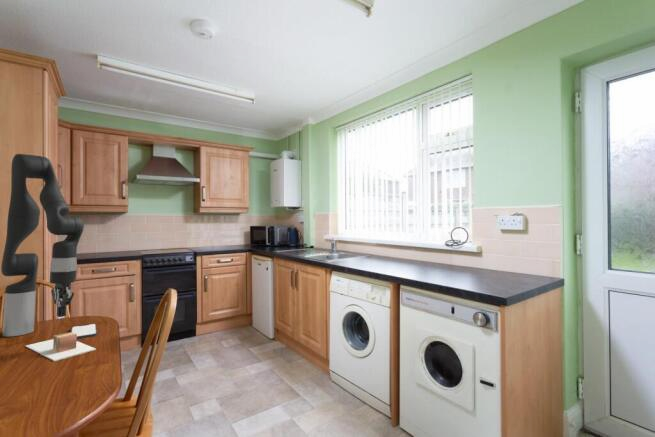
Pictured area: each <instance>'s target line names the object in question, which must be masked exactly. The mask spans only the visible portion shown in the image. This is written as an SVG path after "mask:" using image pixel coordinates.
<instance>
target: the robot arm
mask: <svg viewBox="0 0 655 437" xmlns="http://www.w3.org/2000/svg"><path fill="white" fill-rule="evenodd" d="M10 169H11V170H10V171H11V172H10V173H11V175H10V176H11V178H10V180H11V181H10V182H11V187H10V191H11V192H10V200H9V206H8V213H7V222H6V224H7V225H6V237H5V238H6V239H5V245H4V249H3V250H4V251H3V254H2V260H1V266H0V267H1V270H0V271H1V274H2V275H3V276H4V277H16V276H18V277H19V276H25V277H24V278H23V279H21V280H19V281H16V282H14V283H10V284H8V285H6V286H5V289H4V290H5V291H4V292H5V293H4V306H3V309H4V310H3V320H2V321H3V325H2V336H3V337H17V336H23V335H27V334H31V333H33V332H34V330H35V329H34V328H35V314H36V313H35V311H36V295H37V294H36V291H37V277H38V270H39V256H38V254H37V253H35V252H34V253H33V252H28V253H27V252H26V253H16V252H17V250H18V248H19V247H20V245H21V244H22V243H23V242H24V240H26V239H27V238H28V237H29V236H30V235H31V234H32V233H33V232H35V231H36V229H37V228H38V227H39V223H40V218H41V217H40V215H41V209H40V207H39V205H38V203H37V202H36V200H35V199H34V197H32V196H31V194H30V192H29V190H28V187H27V179H34V180H35V179H38V180H42V181H43V182H44V186H43V187H42V189H41V191H40V193H39V202H40V205H41V207H42V209H43V210H44V212H45V217H46V229H47V231H48V232H49V233H50V234H52V235H54V236H66V237H65V239H63V240H60V241H57V242H54V243H53V244H52V249H51V250H52V251H51V261H50V267H49V268H50V270H49V272H50V273H49V283H50V284H51V285H52V284H54V288H53V289H51V291H50V293H51V296H52V300H53V304H55V306H56V317H58V318H63V317H65V316H66V314H67V307H68V306H70V304H71V302H72V300H73V297H74V295H75V292H74V291H73V292H72V286H71V283H74V282H76V281H77V272H78V271H77V270H78V269H77V267H78V260H77V255H78V253H77V250H78V245H79V242H80V239H81V236H82V235H83V232H84V228H85V225H84V221H83V220H82V218H80V217H79V216H68V215H69V213H70V207H69V205H68V204H67V201H66V199H65V197H64V196H63V193H62V192H61V190H60V187H59V183H58V180H57V176H56V173H55V170H54V166H53V164H52V161H51V160H50V159H49V158H47V157H46V156H41V155H33V154H25V153H16V154H14V156H13V157H12V161H11V168H10Z"/></svg>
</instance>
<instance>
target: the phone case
mask: <svg viewBox="0 0 655 437" xmlns="http://www.w3.org/2000/svg"><path fill="white" fill-rule="evenodd" d="M70 332H72V333H75V334H77V340H79V339H84V338H90V337H91V338H92V337H96V336H98V326H97V324H96V323H92V324H91V323H90V324H83V325H76V326H72V327H71V330H70Z"/></svg>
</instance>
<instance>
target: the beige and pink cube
mask: <svg viewBox="0 0 655 437" xmlns="http://www.w3.org/2000/svg"><path fill="white" fill-rule="evenodd" d="M53 339H54V342H53V350H55V351H57V352H59V353H60V352H64V351H67V350H71V349H75V348H76V342H77V340H78V339H77V334H75V333H72V332H71V331H69V332H64V333H59V334H55V335H53Z"/></svg>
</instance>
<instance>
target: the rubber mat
mask: <svg viewBox="0 0 655 437" xmlns="http://www.w3.org/2000/svg"><path fill="white" fill-rule="evenodd" d="M53 342H54V338H51V339H48V340H45V341H44V340H43V341H40V342H36V343H31V344H26V345H25V347H26V348H27V349H30V350H31V351H34V352H35V353H37V354H40V356H42V357H45V358H47V359H49V360H51V361H53V362H58V361H60V360H65V359H67V358H72V357H75V356H78V355H79V356H80V355H82V354H86V353H89V352H93V351H96V350H97V348H96V347H93V346H91V345H88V344H86V343H83V342H80V341H77V342H76V348H75V349H71V350H67V351H64V352H60V353H59V352H57V351H55V350H53Z"/></svg>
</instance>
